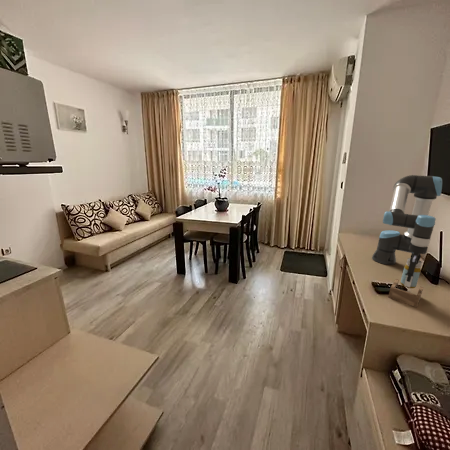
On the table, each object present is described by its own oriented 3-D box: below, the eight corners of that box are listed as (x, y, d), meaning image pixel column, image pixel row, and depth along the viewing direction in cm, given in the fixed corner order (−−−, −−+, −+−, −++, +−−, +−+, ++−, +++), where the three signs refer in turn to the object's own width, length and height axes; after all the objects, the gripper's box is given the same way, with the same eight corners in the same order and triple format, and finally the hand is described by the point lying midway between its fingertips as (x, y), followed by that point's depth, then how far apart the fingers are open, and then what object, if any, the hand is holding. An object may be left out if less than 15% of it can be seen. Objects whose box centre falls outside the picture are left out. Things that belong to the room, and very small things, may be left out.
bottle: (418, 289, 131) (425, 263, 127) (403, 287, 132) (410, 262, 128) (411, 283, 138) (418, 258, 134) (397, 281, 139) (404, 257, 135)
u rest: (393, 288, 145) (396, 279, 144) (420, 297, 137) (423, 287, 135) (388, 297, 135) (390, 287, 134) (416, 307, 127) (419, 297, 125)
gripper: (413, 238, 138) (403, 275, 144) (407, 247, 124) (396, 287, 130) (430, 242, 133) (419, 280, 139) (425, 251, 119) (413, 293, 125)
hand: (408, 283), depth 135 cm, fingers closed on bottle, 7 cm apart
